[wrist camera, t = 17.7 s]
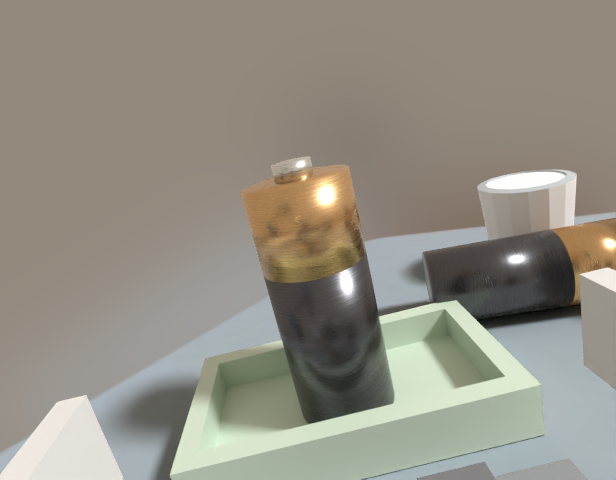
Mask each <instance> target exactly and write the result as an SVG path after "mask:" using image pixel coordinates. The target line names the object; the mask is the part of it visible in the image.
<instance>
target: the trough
mask: <svg viewBox="0 0 616 480" xmlns="http://www.w3.org/2000/svg"><path fill="white" fill-rule="evenodd" d="M379 319H380V324H381V329H382V334H383V339H384V344H385V349H386V353H387V358H388V363H389V368H390V373H391V378H392V383H393V388H394V395H395V398H394V403H393V404H390V405H386V406H382V407H378V408H374V409H370V410H366V411H362V412H357V413H353V414H349V415H345V416H341V417H337V418H333V419H329V420H325V421H321V422H316V423H312V424H308V423H307V422H306V420H305V419H304V417H303V414H302V411H301V407H300V404H299V400H298V397H297V393H296V390H295V386H294V382H293V379H292V375H291V372H290V368H289V364H288V361H287V357H286V354H285V350H284V347H283V343H282V340H280V341H276V342H272V343H268V344H264V345H259V346H255V347H251V348H247V349H243V350H239V351H235V352H231V353H226V354H222V355H218V356H214V357H210V358H206V359H205V361H204V365H203V368H202V371H201V375H200V378H199V381H198V384H197V388H196V391H195V394H194V397H193V401H192V404H191V407H190V410H189V414H188V417H187V420H186V423H185V427H184V430H183V433H182V436H181V440H180V443H179V446H178V449H177V453H176V456H175V459H174V462H173V466H172V469H171V472H170V478H171V480H362V479H366V478H370V477H374V476H378V475H382V474H386V473H390V472H394V471H398V470H403V469H407V468H411V467H415V466H419V465H423V464H427V463H431V462H435V461H439V460H443V459H448V458H452V457H456V456H460V455H464V454H468V453H472V452H476V451H480V450H484V449H488V448H493V447H497V446H501V445H505V444H509V443H513V442H517V441H521V440H525V439H529V438H533V437H538V436H542V435H545V425H544V413H543V401H542V389H541V384H540V383H539V382H538V381H537V380H536V379H535V378H534V377H533V376H532V375H531V374H530V373H529V372H528V371H527V370H526V369H525V368H524V367H523V366H522V365H521V364H520V363H519V362H518V361H517V360H516V359H515V358H514V357H513V356H512V355H511V354H510V353H509V352H508V351H507V350H506V349H505V348H504V347H503V346H502V345H501V344H500V343H499V342H498V341H497V340H496V339H495V338H494V337H493V336H492V335H491V334H490V333H489V332H488V331H487V330H486V329H485V328H484V327H483V326H482V325H481V324H480V323H479V322H478V321H477V320H476V319H475V318H474V317H473V316H472V315H471V314H470V313H469V312H468V311H467V310H466V309H465V308H464V307H463V306H462V305H461V304H460V303H459V302H458V301H457V300H455V301H449V302H442V303H432V304H428V305H424V306H420V307H416V308H412V309H408V310H404V311H399V312H395V313H391V314H387V315H383V316H379Z"/></svg>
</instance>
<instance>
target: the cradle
mask: <svg viewBox="0 0 616 480" xmlns="http://www.w3.org/2000/svg"><path fill="white" fill-rule="evenodd" d="M417 480H587V479H586V478H585V476H584V475H583V474H582V473H581V472H580V471H579V470H578V468H577V467H576V466H575V465H574V464H573V463H572V461H571V460H570V459H565V460H561V461H557V462H552V463H548V464H544V465H540V466H536V467H532V468H528V469H524V470H520V471H516V472H512V473H508V474H503V475H499V476H495V477H493V475H492V473H491V472H490V470H489V468H488V467H487V465H486V463H485V462H482V463H478V464H474V465H470V466H466V467H462V468H458V469H453V470H449V471H445V472H441V473H437V474H433V475H429V476H425V477H421V478H417Z"/></svg>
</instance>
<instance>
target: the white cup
mask: <svg viewBox="0 0 616 480" xmlns="http://www.w3.org/2000/svg"><path fill="white" fill-rule="evenodd" d="M576 177H577V174H576V173H573V172H571V171H566V170H535V171H525V172H518V173H513V174H508V175H503V176H499V177H495V178H492V179H489V180H487V181H485V182H482V183H481V184H480V185H479V186H478V187H477V189H478V193H479V198H480V203H481V207H482V212H483V216H484V221H485V226H486V230H487V235H488V239H489V240H493V239H499V238H505V237H510V236H516V235H522V234H527V233H533V232H538V231H544V230H550V229H555V228H561V227H567V226H572V225H574V211H575V194H576Z"/></svg>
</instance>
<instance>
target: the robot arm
mask: <svg viewBox="0 0 616 480" xmlns="http://www.w3.org/2000/svg"><path fill="white" fill-rule="evenodd" d="M580 295H581V315H582V336H583V356H584V365H585V366H586V367H587V368H589V369H590V370H591V371H593V372H594V373H595V374H596V375H598V376H599V377H600V378H602V379H603V380H604V381H605V382H607V383H608V384H609V385H610V386H612V387H613V388H614V389H616V271H615V270H613V269H611V268H608V267H607V268H603V269H599V270H595V271H591V272H587V273H583V274H580ZM0 480H123V476H122V474H121V472H120V470H119V467H118V465H117V463H116V461H115V458H114V456H113V454H112V452H111V450H110V447H109V445H108V443H107V441H106V438H105V436H104V434H103V432H102V429H101V427H100V425H99V423H98V420H97V418H96V416H95V414H94V412H93V409H92V407H91V405H90V403H89V400H88V398H87V396H86V395H84V396H80V397H76V398H72V399H68V400H64V401H60V402H57V403H56V404H55V405H54V407H53V408H52V409H51V410H50V412H49V413H48V414H47V415H46V417H45V418H44V419H43V421H42V422H41V423H40V424H39V426H38V427H37V428H36V430H35V431H34V432H33V433H32V435H31V436H30V437H29V438H28V440H27V441H26V442H25V443H24V445H23V446H22V447H21V449H20V450H19V451H18V452H17V454H16V455H15V456H14V457H13V459H12V460H11V461H10V463H9V464H8V465H7V466H6V468H5V469H4V470H3V471H2V473H1V474H0Z"/></svg>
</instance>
